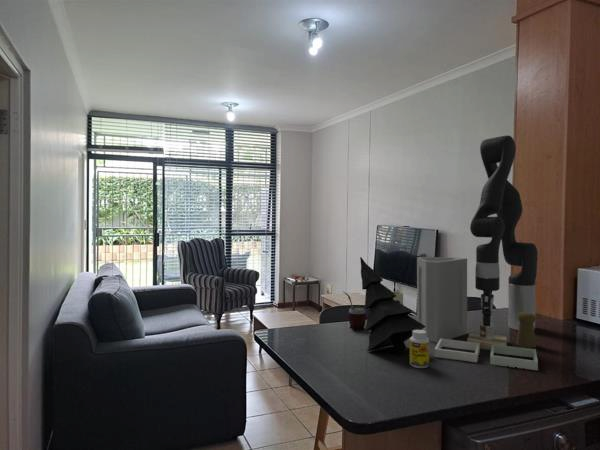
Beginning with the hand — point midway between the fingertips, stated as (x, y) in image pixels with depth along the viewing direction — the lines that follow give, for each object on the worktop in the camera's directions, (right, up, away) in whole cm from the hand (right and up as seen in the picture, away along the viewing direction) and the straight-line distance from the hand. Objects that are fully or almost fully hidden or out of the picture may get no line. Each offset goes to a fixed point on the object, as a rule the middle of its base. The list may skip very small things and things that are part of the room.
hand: (487, 322), depth 147 cm
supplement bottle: (-28, -9, -19) cm, 35 cm away
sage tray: (+1, -8, -16) cm, 18 cm away
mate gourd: (-42, -8, +22) cm, 48 cm away
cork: (+13, -8, -1) cm, 15 cm away
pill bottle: (0, -6, 0) cm, 6 cm away
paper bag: (-13, -7, +14) cm, 21 cm away
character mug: (-26, -7, +27) cm, 38 cm away
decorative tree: (-36, -8, -2) cm, 37 cm away
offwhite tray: (-13, -8, -9) cm, 18 cm away
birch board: (0, -7, 0) cm, 7 cm away
